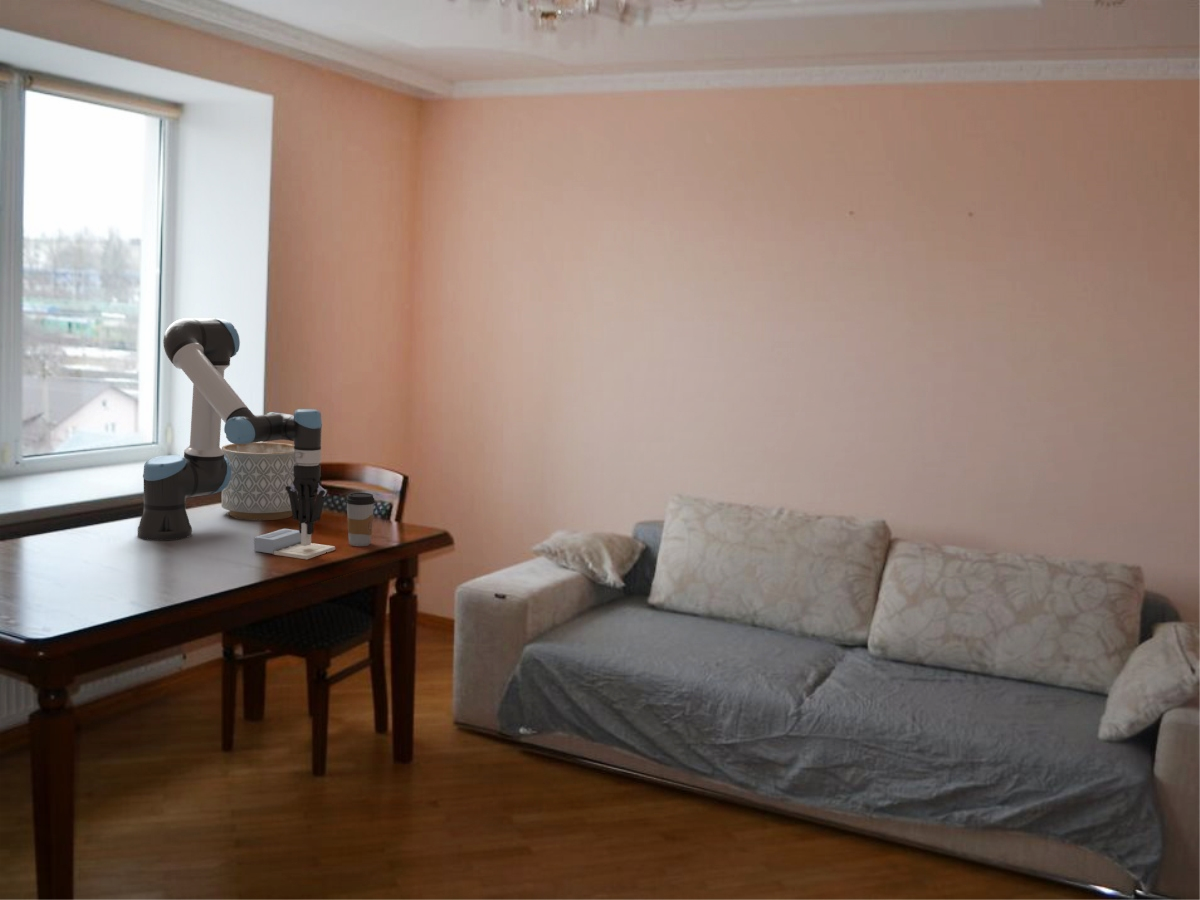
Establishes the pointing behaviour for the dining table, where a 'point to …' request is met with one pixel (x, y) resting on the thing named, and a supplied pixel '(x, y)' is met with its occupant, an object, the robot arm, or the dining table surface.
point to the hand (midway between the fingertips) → (306, 544)
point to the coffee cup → (360, 518)
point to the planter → (259, 480)
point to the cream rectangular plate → (304, 550)
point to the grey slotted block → (276, 540)
